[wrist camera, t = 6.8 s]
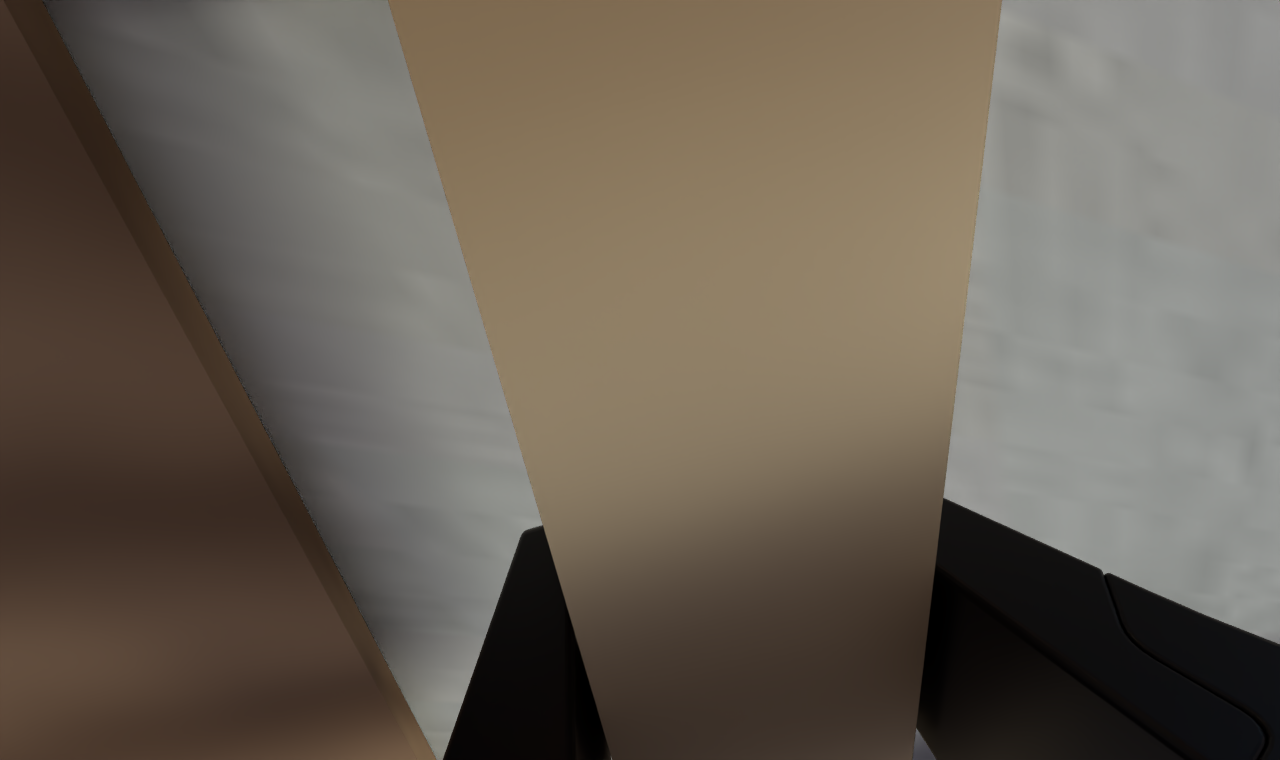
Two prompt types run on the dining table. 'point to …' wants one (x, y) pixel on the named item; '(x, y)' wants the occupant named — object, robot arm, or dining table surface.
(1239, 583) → the dining table surface
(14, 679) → the rest board
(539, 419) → the oak scraper
